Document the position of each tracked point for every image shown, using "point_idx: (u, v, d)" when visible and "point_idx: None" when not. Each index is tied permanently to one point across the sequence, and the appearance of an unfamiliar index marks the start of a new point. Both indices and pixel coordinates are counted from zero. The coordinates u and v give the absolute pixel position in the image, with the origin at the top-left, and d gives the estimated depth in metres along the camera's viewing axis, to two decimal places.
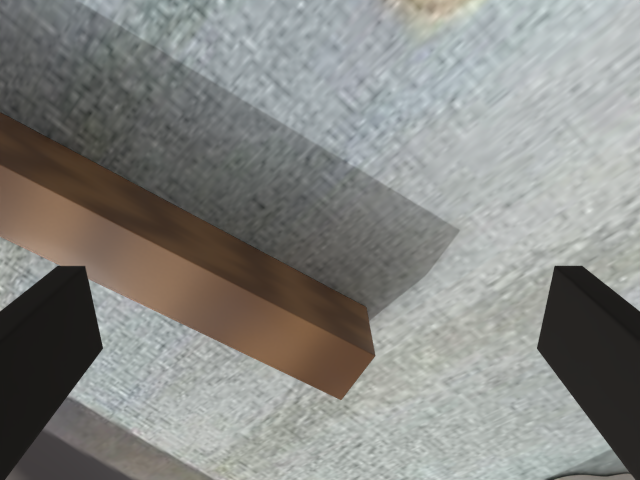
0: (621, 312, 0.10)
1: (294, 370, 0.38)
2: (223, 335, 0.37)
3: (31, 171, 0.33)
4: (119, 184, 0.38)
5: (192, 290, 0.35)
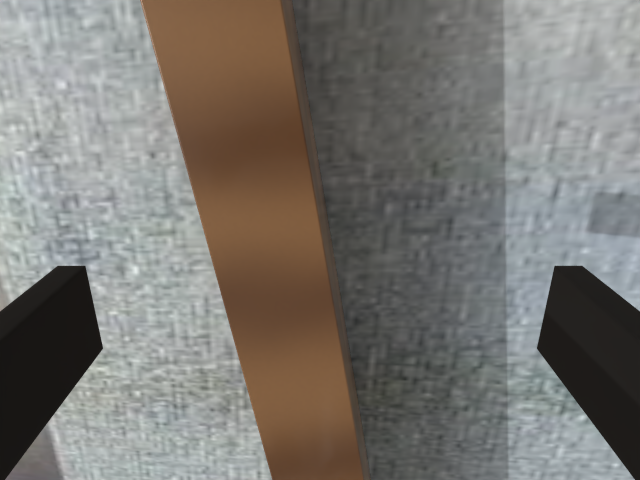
0: (621, 312, 0.10)
1: None
2: None
3: (362, 463, 0.28)
4: (365, 451, 0.34)
5: None
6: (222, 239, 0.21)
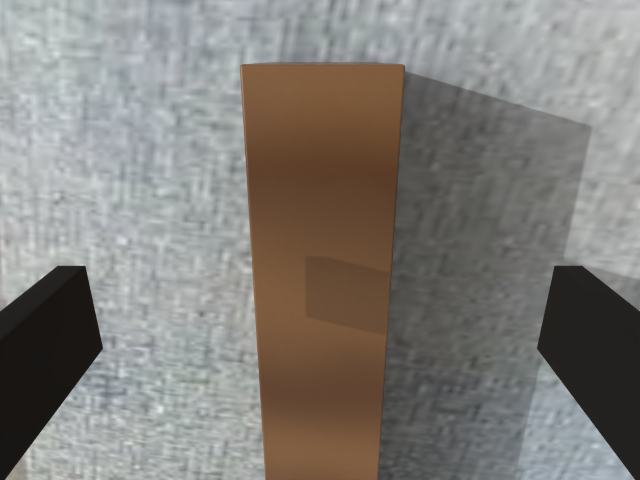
0: (621, 312, 0.10)
1: None
2: None
3: None
4: None
5: None
6: (281, 462, 0.21)
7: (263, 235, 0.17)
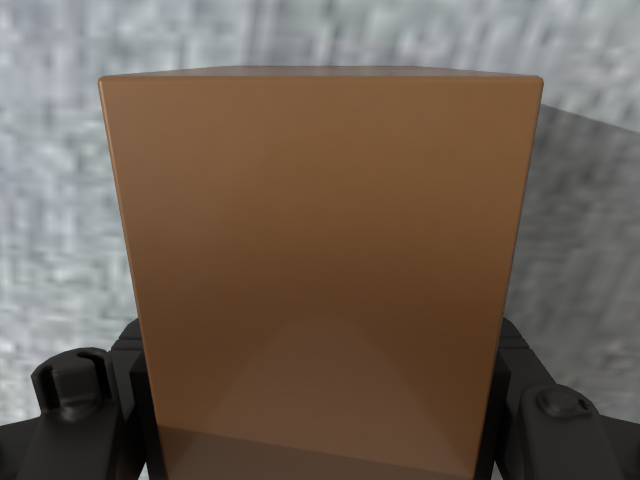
0: None
1: None
2: None
3: None
4: None
5: None
6: None
7: (189, 453, 0.08)
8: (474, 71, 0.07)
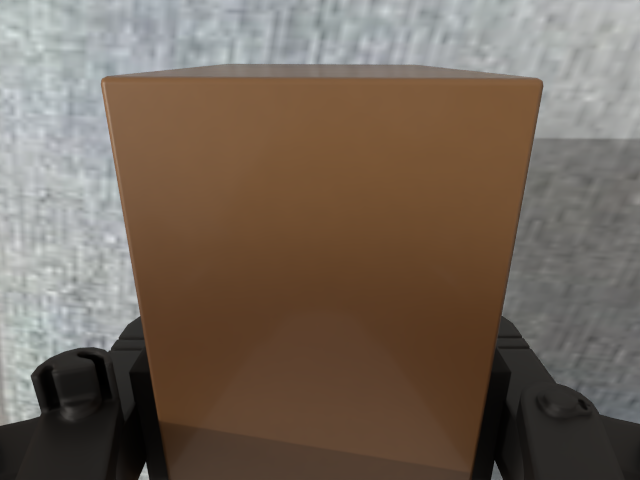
0: None
1: None
2: None
3: None
4: None
5: None
6: None
7: (191, 449, 0.08)
8: (474, 72, 0.07)
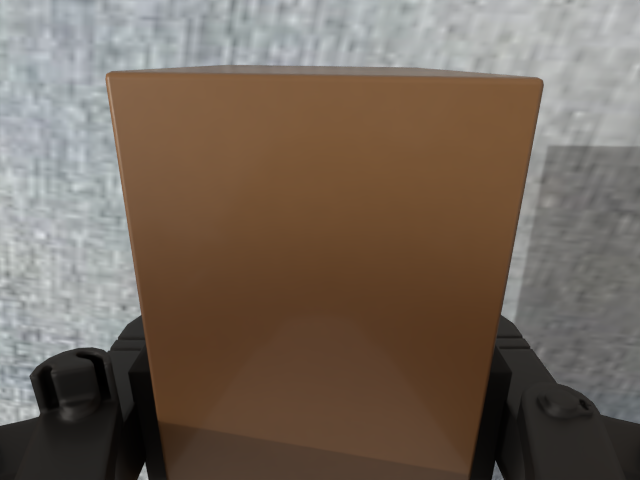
0: None
1: None
2: None
3: None
4: None
5: None
6: None
7: (189, 447, 0.08)
8: (475, 73, 0.07)
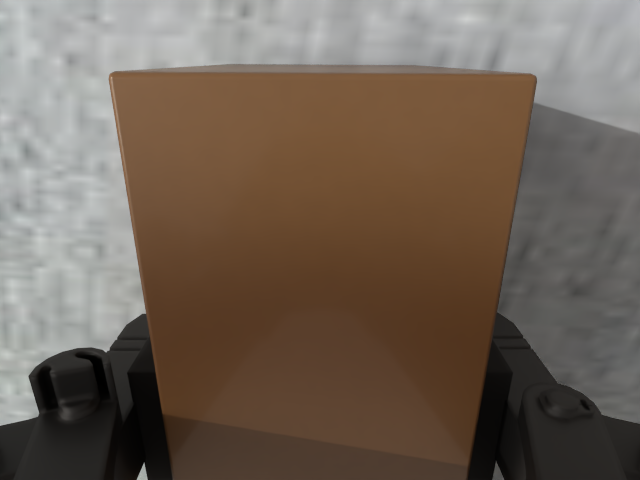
0: None
1: None
2: None
3: None
4: None
5: None
6: None
7: (193, 439, 0.08)
8: None
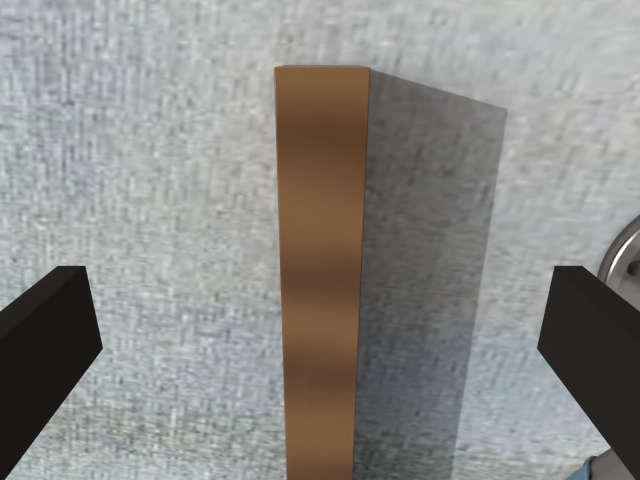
0: (621, 312, 0.10)
1: None
2: None
3: None
4: None
5: None
6: (293, 331, 0.32)
7: (285, 172, 0.28)
8: None
